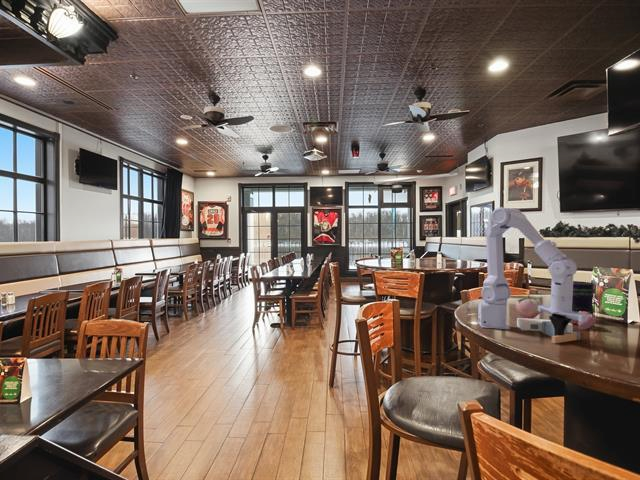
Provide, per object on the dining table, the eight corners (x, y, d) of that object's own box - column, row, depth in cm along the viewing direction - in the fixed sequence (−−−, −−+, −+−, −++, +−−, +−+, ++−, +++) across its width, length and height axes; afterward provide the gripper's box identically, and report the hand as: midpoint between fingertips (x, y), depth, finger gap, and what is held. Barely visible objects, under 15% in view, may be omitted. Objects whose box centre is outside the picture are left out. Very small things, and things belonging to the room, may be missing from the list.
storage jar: (585, 323, 137) (586, 285, 137) (558, 318, 146) (558, 281, 145) (598, 320, 142) (598, 283, 142) (570, 315, 151) (571, 280, 150)
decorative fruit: (530, 316, 148) (531, 292, 148) (545, 321, 140) (546, 296, 140) (510, 317, 147) (510, 293, 146) (524, 322, 138) (524, 296, 138)
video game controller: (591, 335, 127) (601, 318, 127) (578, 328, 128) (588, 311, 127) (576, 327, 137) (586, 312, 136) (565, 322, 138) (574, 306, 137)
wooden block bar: (556, 343, 111) (556, 336, 111) (550, 342, 113) (550, 334, 113) (581, 339, 115) (581, 332, 115) (575, 338, 117) (575, 331, 117)
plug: (552, 338, 118) (552, 326, 118) (541, 332, 125) (541, 321, 125) (568, 338, 117) (568, 326, 117) (556, 332, 124) (556, 321, 124)
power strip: (521, 330, 127) (522, 320, 127) (516, 325, 133) (517, 316, 133) (573, 333, 123) (573, 323, 123) (565, 328, 129) (565, 319, 129)
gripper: (531, 292, 119) (530, 333, 119) (575, 301, 105) (573, 347, 106) (547, 291, 121) (545, 331, 122) (592, 300, 108) (589, 344, 108)
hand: (559, 338), depth 114 cm, fingers closed, pressing on wooden block bar
